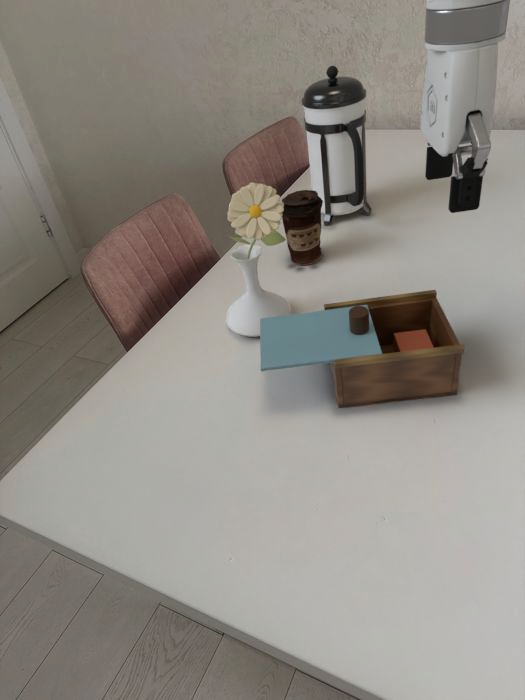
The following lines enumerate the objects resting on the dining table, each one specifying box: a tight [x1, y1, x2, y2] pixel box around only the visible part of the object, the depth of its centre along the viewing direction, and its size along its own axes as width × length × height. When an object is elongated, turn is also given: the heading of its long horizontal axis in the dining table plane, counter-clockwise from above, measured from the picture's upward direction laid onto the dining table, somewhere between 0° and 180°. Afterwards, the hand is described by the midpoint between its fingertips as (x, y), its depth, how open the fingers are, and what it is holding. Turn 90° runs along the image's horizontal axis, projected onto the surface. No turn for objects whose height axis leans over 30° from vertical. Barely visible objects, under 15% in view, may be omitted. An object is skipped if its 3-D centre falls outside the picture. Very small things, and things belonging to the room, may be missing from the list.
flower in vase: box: [225, 181, 292, 338], centre depth 78 cm, size 13×11×25 cm
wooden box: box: [323, 289, 466, 409], centre depth 70 cm, size 16×13×9 cm
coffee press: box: [301, 65, 373, 226], centre depth 104 cm, size 17×16×30 cm
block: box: [393, 329, 434, 353], centre depth 70 cm, size 4×4×4 cm
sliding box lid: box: [259, 305, 382, 372], centre depth 67 cm, size 16×11×4 cm
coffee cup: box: [281, 189, 323, 266], centre depth 97 cm, size 9×8×13 cm
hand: (450, 192), depth 59 cm, fingers open, 9 cm apart
